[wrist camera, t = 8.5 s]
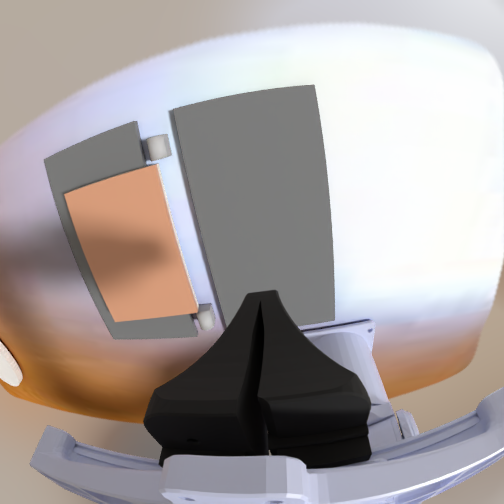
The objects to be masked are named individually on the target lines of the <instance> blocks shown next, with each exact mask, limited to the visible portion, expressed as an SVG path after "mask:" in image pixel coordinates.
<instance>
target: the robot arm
mask: <svg viewBox="0 0 504 504" xmlns="http://www.w3.org/2000/svg"><path fill="white" fill-rule="evenodd" d="M370 328H371V329H370ZM369 329H370V330H369ZM374 332H375V322H374V321H373V320H369V321H364V322H359V323H354V324H348V325H343V326H337V327H331V328H325V329H319V330H312V331H306V332H301V330H300V329H299V328H298V327H297V325H296V324H295V323H294V322H293V320H292V319H291V317H290V316H289V314H288V312H287V311H286V309H285V308H284V306H283V304H282V302H281V299H280V297H279V293H278V291H277V290H268V291H260V292H253V293H247V295H246V296H245V298H244V300H243V302H242V304H241V306H240V308H239V309H238V311H237V313H236V314H235V316H234V318H233V319H232V321H231V322H230V324H229V325H228V327H227V328H226V330H225V331H224V332H223V334H222V335H221V336H220V338H219V339H218V340H217V341H216V343H215V344H214V345H213V346H212V347H211V348H210V349H209V350H208V351H207V352H206V353H205V354H204V355H203V356H202V357H201V358H200V359H199V360H198V361H197V362H195V363H194V364H193V365H192V366H191V367H189V368H188V369H187V370H185V371H184V372H183V373H181V374H180V375H178V376H177V377H175V378H174V379H172V380H170V381H169V382H167V383H165V384H164V385H162V386H160V387H158V388H157V389H155V390H154V393H153V395H152V397H151V399H150V402H149V405H148V408H147V411H146V414H145V417H144V420H143V422H144V426H145V428H146V429H147V430H148V432H149V433H150V434H151V435H152V436H153V437H154V439H156V441H157V442H158V443H159V444H160V445H161V446H162V451H161V456H160V460H157V459H150V458H144V457H138V456H133V455H128V454H123V453H119V452H114V451H109V450H106V449H102V448H98V447H94V446H91V445H87V444H84V443H81V442H77V441H76V440H75V439H74V438H73V437H72V436H71V435H70V434H68V433H67V432H65V431H63V430H61V429H58V428H55V427H52V426H49V425H47V427H46V429H45V431H44V433H43V435H42V437H41V439H40V441H39V443H38V446H37V448H36V450H35V452H34V454H33V457H32V459H31V462H30V466H31V467H33V468H34V469H36V470H37V471H38V472H40V473H41V474H42V475H44V476H45V477H47V478H48V479H50V480H51V481H53V482H54V483H56V484H58V485H59V486H61V487H63V488H64V489H66V490H68V491H70V492H73V493H75V494H77V495H80V496H82V497H84V498H86V499H89V500H91V501H94V502H96V503H99V504H421V503H422V502H423V501H424V500H427V499H429V498H431V497H433V496H435V495H438V494H440V493H442V492H444V491H446V490H448V489H450V488H452V487H454V486H456V485H457V484H459V483H461V482H463V481H465V480H467V479H468V478H470V477H472V476H474V475H475V474H477V473H479V472H480V471H482V470H484V469H486V468H487V467H489V466H490V465H492V464H494V463H495V462H497V461H498V460H500V459H501V458H502V457H503V456H504V387H502V388H500V389H498V390H497V391H495V392H493V393H491V394H489V395H488V396H486V397H485V398H484V399H483V400H482V401H481V402H480V403H479V405H478V407H477V408H476V410H475V411H472V412H470V413H468V414H466V415H464V416H462V417H460V418H458V419H455V420H453V421H451V422H449V423H446V424H444V425H442V426H439V427H437V428H434V429H432V430H429V431H426V432H424V433H421V434H419V432H418V429H417V426H416V423H415V421H414V419H413V416H412V414H411V413H410V412H408V411H404V410H403V409H400V410H398V411H396V414H397V418H398V421H399V426H400V430H401V433H402V435H401V433H400V430H399V427H398V423H397V421H396V418H395V415H394V412H393V409H392V406H391V403H390V402H389V401H388V398H387V395H386V392H385V389H384V386H383V384H382V381H381V378H380V375H379V373H378V370H377V367H376V365H375V362H374V359H373V357H372V354H371V353H372V347H373V340H374ZM269 450H270V452H271V455H272V456H269Z"/></svg>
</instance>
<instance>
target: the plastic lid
mask: <svg viewBox="0 0 504 504" xmlns="http://www.w3.org/2000/svg"><path fill="white" fill-rule="evenodd" d="M0 378H1V379H2V380H3V381H5V382H7V383H9V384H10V385H12V386H18V385H19V384H20V382H21V380H22V379H23V377H22V372H21V370H20V368H19V366H18V365H17V363H16V361H15V360H14V358H13V357H12V355H11V354H10V352H9V351H8V350H7V349H6V348H5V346H4V345H3V344H2V343H1V342H0Z"/></svg>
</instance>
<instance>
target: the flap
mask: <svg viewBox="0 0 504 504" xmlns="http://www.w3.org/2000/svg"><path fill="white" fill-rule="evenodd" d="M64 196H65V199H66V202H67V206H68V209H69V212H70V215H71V218H72V221H73V224H74V227H75V230H76V233H77V236H78V238H79V241H80V244H81V247H82V249H83V252H84V254H85V257H86V259H87V262H88V264H89V267H90V269H91V272H92V274H93V276H94V279H95V281H96V283H97V285H98V288H99V290H100V292H101V294H102V296H103V299H104V301H105V303H106V305H107V307H108V309H109V311H110V313H111V315H112V317H113V319H114V321H115V322H121V321H131V320H141V319H150V318H159V317H167V316H175V315H183V314H191V313H197V312H198V307H199V305H198V302H197V298H196V295H195V292H194V289H193V286H192V283H191V280H190V277H189V273H188V270H187V267H186V264H185V260H184V257H183V254H182V250H181V247H180V243H179V240H178V236H177V233H176V229H175V226H174V222H173V218H172V215H171V211H170V207H169V203H168V199H167V196H166V192H165V188H164V184H163V180H162V175H161V171H160V167H159V163H157V164H154V165H150V166H146V167H143V168H139V169H136V170H133V171H129V172H126V173H123V174H119V175H116V176H113V177H110V178H107V179H104V180H101V181H98V182H95V183H92V184H89V185H86V186H83V187H81V188H78V189H75V190H73V191H70V192H68V193H66V194H64Z"/></svg>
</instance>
